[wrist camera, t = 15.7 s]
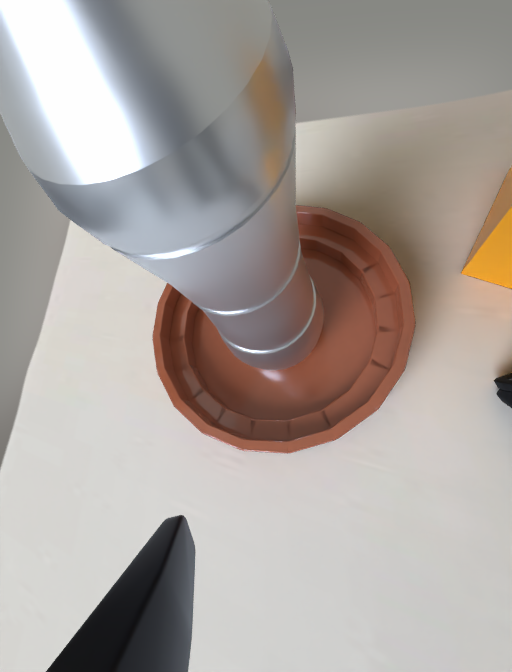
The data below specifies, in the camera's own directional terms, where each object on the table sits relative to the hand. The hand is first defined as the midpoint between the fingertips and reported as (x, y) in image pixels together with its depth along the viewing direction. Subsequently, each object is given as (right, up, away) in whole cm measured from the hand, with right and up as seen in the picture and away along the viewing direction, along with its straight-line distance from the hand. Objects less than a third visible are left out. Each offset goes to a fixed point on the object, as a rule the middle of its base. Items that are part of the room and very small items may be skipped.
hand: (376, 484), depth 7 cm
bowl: (-1, +4, +14) cm, 15 cm away
